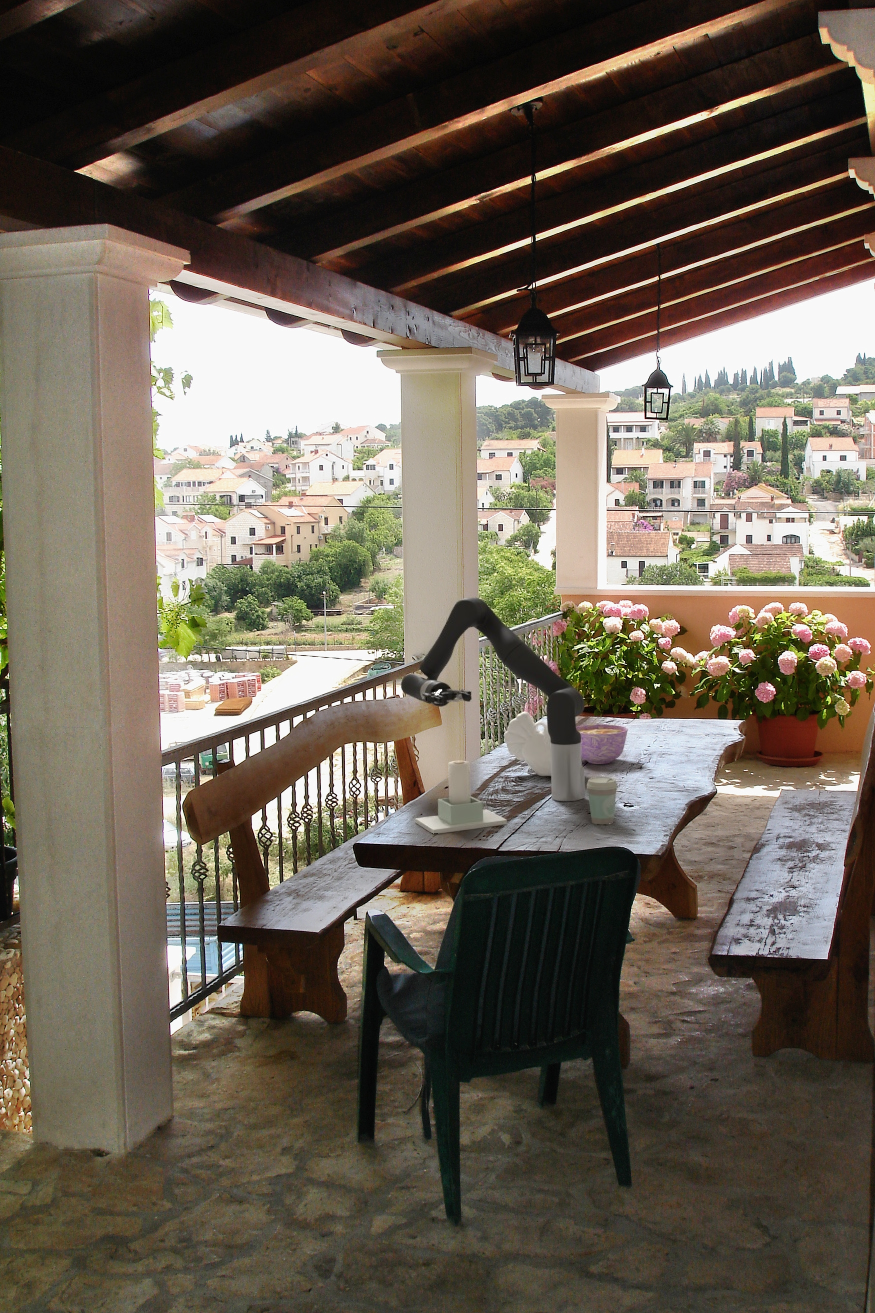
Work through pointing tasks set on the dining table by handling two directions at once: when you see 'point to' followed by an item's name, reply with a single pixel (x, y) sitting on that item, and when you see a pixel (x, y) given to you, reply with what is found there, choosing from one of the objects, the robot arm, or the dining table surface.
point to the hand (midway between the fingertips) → (456, 699)
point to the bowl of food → (601, 742)
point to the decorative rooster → (530, 742)
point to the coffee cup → (602, 799)
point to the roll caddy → (460, 817)
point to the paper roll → (459, 782)
